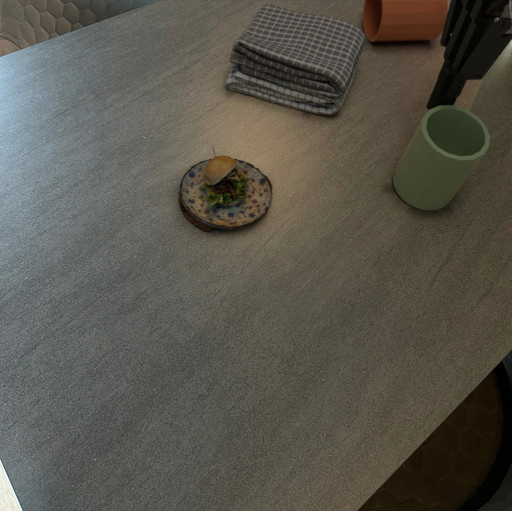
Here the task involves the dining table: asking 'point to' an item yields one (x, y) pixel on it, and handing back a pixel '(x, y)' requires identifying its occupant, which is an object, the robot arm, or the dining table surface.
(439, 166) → the sage cup
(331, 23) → the towel
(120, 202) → the dining table surface
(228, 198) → the burger
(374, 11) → the terracotta cup
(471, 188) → the dining table surface
